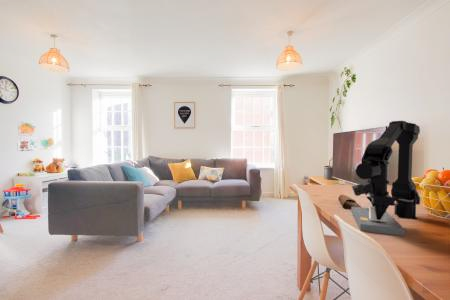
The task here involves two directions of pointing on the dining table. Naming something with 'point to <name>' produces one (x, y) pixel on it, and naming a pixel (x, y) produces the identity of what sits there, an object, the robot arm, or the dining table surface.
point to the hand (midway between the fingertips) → (377, 218)
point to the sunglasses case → (347, 202)
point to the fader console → (376, 222)
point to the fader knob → (373, 215)
